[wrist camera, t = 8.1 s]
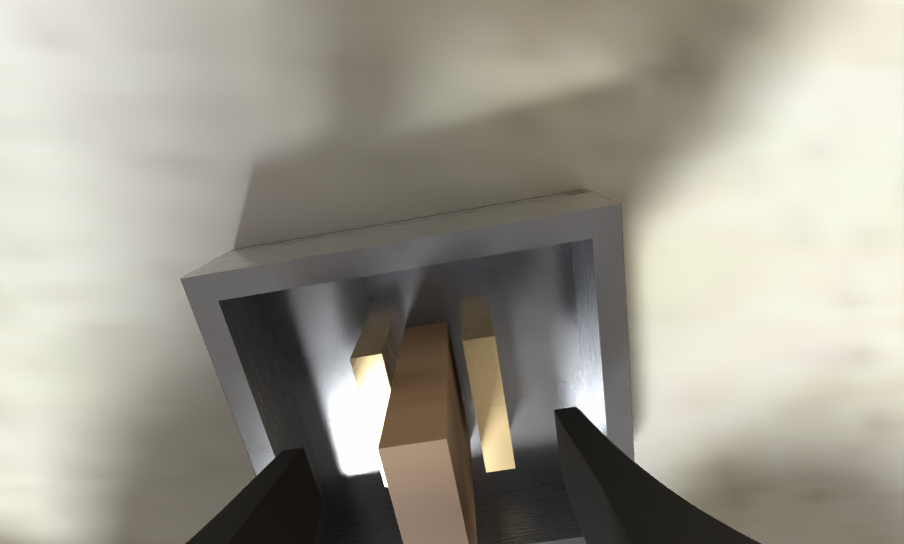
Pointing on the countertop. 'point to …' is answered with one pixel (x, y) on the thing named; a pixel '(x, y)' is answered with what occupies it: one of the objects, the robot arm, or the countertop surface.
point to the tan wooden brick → (428, 442)
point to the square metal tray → (473, 340)
